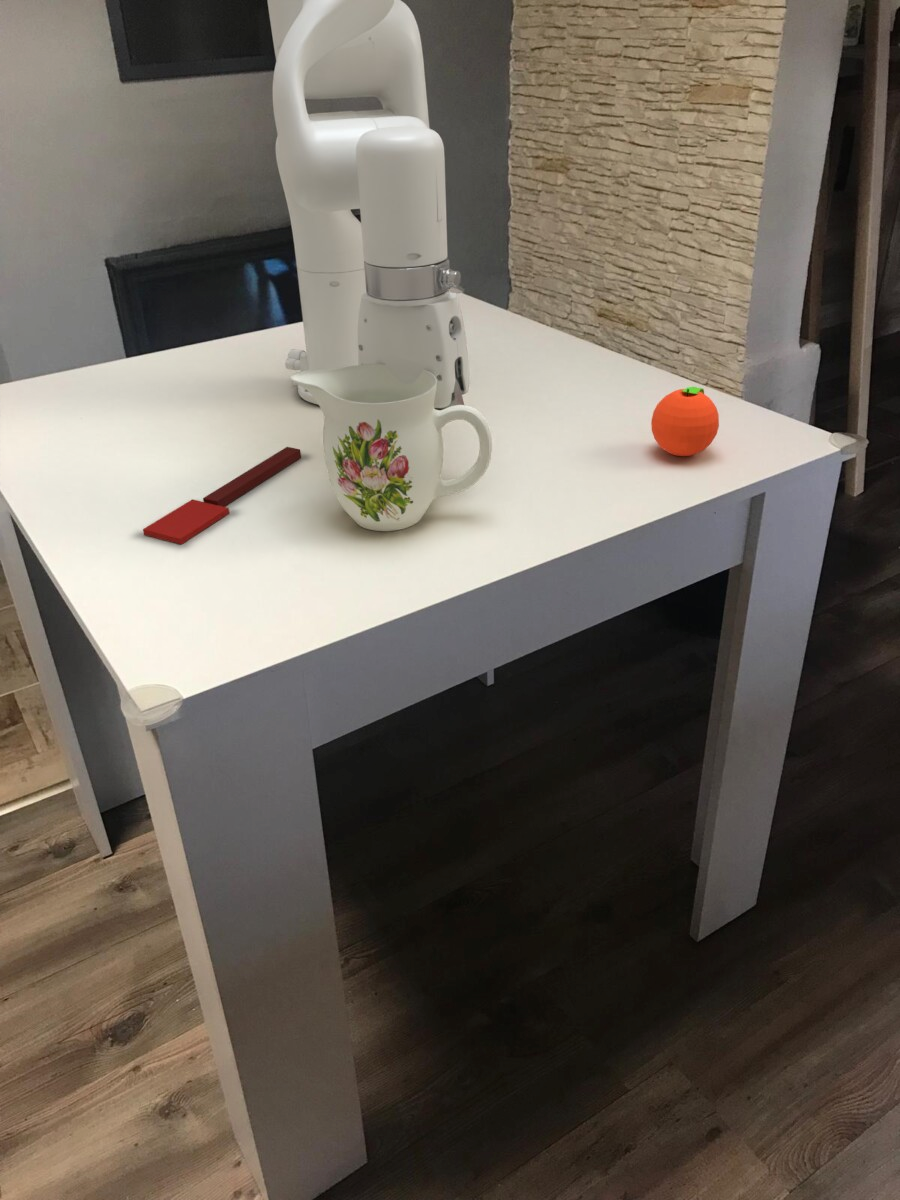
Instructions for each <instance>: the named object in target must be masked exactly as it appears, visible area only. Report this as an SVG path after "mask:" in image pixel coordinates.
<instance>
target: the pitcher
mask: <svg viewBox="0 0 900 1200" xmlns="http://www.w3.org/2000/svg"><path fill="white" fill-rule="evenodd" d="M289 380H290V381H291V382H293V384H295V385H297V386H298V385H299V386H301V387H303V388H305V389H306V390H307V391H309V392H310V393H311V394H312V396H313V397H314V398H315V400H316V401H317V403H318V404H319V405H318V407H319V408H320V410H321V412H322V414H323V416H324V419H323V420H324V421H323V422H324V423H323V430H322V431H323V432H322V447H323V448H322V449H323V456H324V457H323V458H324V462H325V467H326V471H327V474H328V475H327V476H328V478H329V479H328V480H330V484H331V487H332V490H333V492H334V494H335V496H336V499H337V500H338V502H339V503H340V506H341V507H342V508H343V510H344V512H345V513H346V514H347V515H349V516H350V518H351V519H352V520H353V521H354V522H355V523H356V524H357V525H358V526H359V527H361V528H363V529H367V530H370V531H376V532H393V531H399V530H400V531H401V530H404V529H407V528H410V527H412V526H414V525H416V524H418V523H419V522H420V521H421V520H422V518H423V516H424V515H425V513H426V512H427V510H428V509H429V507H431V506H430V505H431V504H432V502H433V501H434V500H435V499H437V498H440V497H446V496H450V495H454V494H459V493H461V492H464V491H466V490H468V489H470V488H471V487H473V486H474V485H475V484H476V483H477V482H479V481H480V480H481V478H483V476H484V475H485V473H486V472H487V471H488V468H489V464H490V463H491V460H492V458H491V457H492V451H493V444H492V443H493V442H492V434H491V428H490V426H489V423H488V422H487V420H486V418H485V416H484V415H483V414H482V412H480V411H479V410H478V409H476V408H475V407H474V406H473V407H472V406H470V405H467V404H464V405H456V406H451V407H448V408H446V409H444V410H436V409H435V408H434V399H435V393H436V388H437V379H436V377H435V376H434V375H433V374H432V373H430V372H429V371H426V370H424V369H422V372H421V374H420V376H419V378H418V379H417V380H415V381H414V382H413V383H410V384H404V383H401V382H400V381H398V380H397V379H396V378H395V377H394V376H393V375H392V373H391V372H390V371H389V369H388V368H387V365H386V364H362V365H352V366H345V367H340V368H335V369H328V370H312V371H303V372H301V371H297V372H294V373H292V374H290V376H289ZM457 420H459V421H465V422H467V423H469V424H470V425H471V426H472V427H473V428H474V430H475V432H476V435H477V437H478V443H479V449H478V456H477V459H476V460H475V463H474V464H473V465H472V466H471V467H470V468H469V469H468V470H467V471H465V472H464V473H462V474H460V475H459V476H458V477H455V478H451V479H445V480H444V479H442V478H441V475H442V469H443V463H444V439H443V432H442V429H443V428H444V427H445V426H446V425H447V424H448V423H450V422H454V421H457Z"/></svg>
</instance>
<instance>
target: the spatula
mask: <svg viewBox="0 0 900 1200" xmlns="http://www.w3.org/2000/svg"><path fill="white" fill-rule="evenodd" d="M301 458H302V452H301V449H300V448H296V447H295V448H294V447H291V446H286V447H284V448H282V449H281V450H279V451H277V452H276V453H274V454H273V455H271V456H269V457H268V458H266V459H264V460H263V461H261V462H260V463H258V464H256V465H254V466H253V467H251V468H249V469H248V470H247V471H244V472H243V473H242V474H240V475H238V476H237V477H235V478H233V479H232V480H230V481H229V482H227V483H225V484H223V485H222V486H221V487H218V488H217V489H216V490H213V491H212V492H211V493H209V494H208V495H205V496H204V497H203V498H202V501H200V500H197V499H193V498H191V499H190V500H189V501H187V502H185V503H184V504H182V505H181V506H179V507H177V508H176V509H174V510H172V511H171V512H169V513H167V514H165V515H164V516H162V517H161V518H158V519H157V520H156V521H154V522H152V523H151V524H149V525H147V526H146V527H144V528H142V531H143V535H144V536H148V537H151V538H155V539H159V540H163V541H167V542H171V543H175V544H178V545H183V544H184V543H186V542H188V541H189V540H190V539H192V538H194V537H195V536H196V535H198V534H200V533H201V532H203V531H204V530H206V529H207V528H208V527H210V526H213V525H214V524H215V523H216V522H218V521H220V520H221V519H224V518H225V517H226V516H228V515H229V514H230V509H229V507H227V505H229V504H230V503H232V502H234V501H236V500H237V499H239V498H241V496H243V495H245V494H246V493H248V492H250V491H251V490H253V489H254V488H256V487H257V486H259V485H260V484H262V483H263V482H265V481H267V480H269V479H270V478H271V477H273V476H274V475H276V474H278V473H279V472H281V471H283V470H284V469H286V468H287V467H289V466H291V465H292V464H294V463H295V462H297V461H298V460H300V459H301Z"/></svg>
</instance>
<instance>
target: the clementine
mask: <svg viewBox="0 0 900 1200" xmlns="http://www.w3.org/2000/svg"><path fill="white" fill-rule="evenodd" d="M719 417H720V414H719V412H718V408H717V406H716V404H715V403H714V402H713V400H712V399H711V398H710V397H709V396H708V395H707V394H705V390H704V388H703V387H697V386H688V387H686V388H680V389H675V390H673V391H672V392H669V393H668V394H666V395H665V396H664V397H662V399H661V400H660V401H659V402H657V404H656V406H655V408H654V409H653V412H652V417H651V422H650V423H651V433H652V435H653V438H654V440H655V442H656V443H657V444H658V446H659V447H660V448H661V449H663V450H664V451H665V452H667V453H668V454H671V455H673V456H679V457H690V456H694V455H697V454H699V453H702V452H703V451H705V450H706V449H707V448H708V447H709V446H710V445H711V444H712V443H713V442H714V440H715V438H716V436H717V435H718V431H719V427H720V418H719Z"/></svg>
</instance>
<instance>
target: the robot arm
mask: <svg viewBox="0 0 900 1200" xmlns="http://www.w3.org/2000/svg"><path fill="white" fill-rule="evenodd" d="M267 7H268V8H267V9H268V15H269V16H268V17H269V22H270V28H271V36H272V43H273V50H274V56H275V65H274V71H273V77H272V110H273V117H274V118H273V119H274V123H275V128H276V134H277V135H276V140H275V160H276V165H277V169H278V174H279V177H280V178H279V179H280V181H281V185H282V189H283V192H284V196H285V200H286V206H287V210H288V215H289V220H290V226H291V233H292V239H293V247H294V254H295V255H294V256H295V263H296V264H295V265H296V271H297V281H298V289H299V291H298V292H299V299H300V307H301V316H302V317H301V318H302V324H303V334H304V342H305V350H304V349H303V350H301V349H296V348H293V349H290V350H289V351H288V355H287V358H286V360H285V368H286V369H287V370H292V371H299V372H303V371H312V370H328V369H335V368H340V367H345V366H352V365H362V364H386V365H387V368H388V369H389V371H390V372H391V373H392V375H393V376H394V377H395V378H396V379H397V380H398V381H400V382H401V383H404V384H410V383H413V382H414V381H415V380H417V379H418V378H419V376H420V374H421V372H422V369H424V370H426V371H429V372H430V373H432V374H433V375H434V376H435V377H436V379H437V388H436V393H435V399H434V408H435V409H436V410H444V409H446V408H448V407H451V406H456V405H465V402H464V397H463V395H465V394H467V393H468V392H469V390H470V385H471V384H470V383H471V379H470V363H469V361H470V360H469V350H468V343H467V334H466V327H465V321H464V317H463V312H462V308H461V307H462V306H461V304H460V300H459V297H458V294H457V293H456V292H451V291H450V290H451V288H452V287H454V288H458V287H459V286H460V284H461V281H462V276H461V275H462V274H461V272H460V271H459V270H453V269H452V268H451V267H450V261H451V260H450V259H449V258H448V229H447V228H448V226H447V225H448V224H447V195H446V194H447V192H446V189H447V188H446V161H445V160H446V157H445V146H444V142H443V139H442V137H441V136H440V134H439V133H438V132H437V131H436V130H434V129H432V128H430V118H429V117H430V116H429V107H428V106H429V105H428V96H427V87H426V86H427V83H426V74H425V62H424V54H423V45H422V39H421V34H420V29H419V26H418V23H417V20H416V18H415V15H414V13H413V11H412V10H411V8H410V7H409V6H408V5H407V4H406V3H405V2H404V1H402V0H267ZM366 97H367V98H368V97H374V98H376V99H378V101H380V104H381V106H382V109H367V110H343V111H330V112H327V111H326V112H315V113H308V110H307V105H306V100H331V99H334V100H335V99H350V98H351V99H353V98H366ZM352 210H359V212H360V214H359V215H360V220H359V219H358V218H357V217H356V216H355V215H354V214H353V212H352ZM297 390H298V395H299V397H300V398H302V399H303V400H304V401H306V402H307V403H310V404H314V405H318V406H319V404H318V403H317V401H316V400H315V398H314V397H313V396H312V394H311V393H310V392H309V391H307V390H306V389H305V388H303V387H301V386H299V385H297Z"/></svg>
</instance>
